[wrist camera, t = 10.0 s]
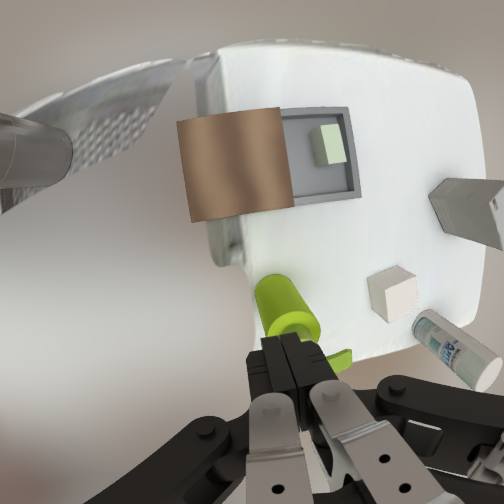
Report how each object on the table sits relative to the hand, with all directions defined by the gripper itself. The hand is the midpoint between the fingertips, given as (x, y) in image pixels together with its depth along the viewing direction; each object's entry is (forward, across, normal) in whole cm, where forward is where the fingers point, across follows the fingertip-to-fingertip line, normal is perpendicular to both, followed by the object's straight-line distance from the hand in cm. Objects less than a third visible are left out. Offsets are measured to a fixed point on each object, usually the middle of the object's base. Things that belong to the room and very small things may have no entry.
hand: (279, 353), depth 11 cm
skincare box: (+29, -36, 0) cm, 47 cm away
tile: (+26, -12, -11) cm, 30 cm away
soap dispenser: (+29, -4, +9) cm, 31 cm away
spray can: (+29, -32, +22) cm, 49 cm away
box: (+29, -12, -10) cm, 33 cm away
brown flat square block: (+29, 0, -10) cm, 31 cm away
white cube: (+29, -22, +12) cm, 39 cm away
